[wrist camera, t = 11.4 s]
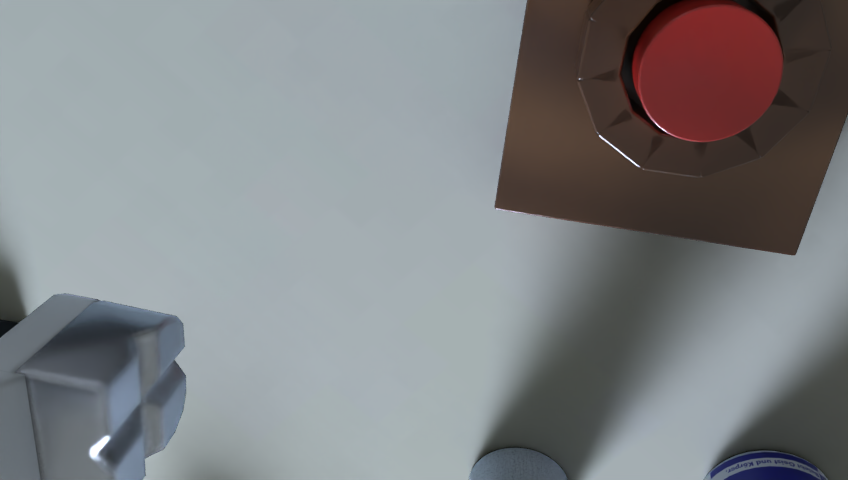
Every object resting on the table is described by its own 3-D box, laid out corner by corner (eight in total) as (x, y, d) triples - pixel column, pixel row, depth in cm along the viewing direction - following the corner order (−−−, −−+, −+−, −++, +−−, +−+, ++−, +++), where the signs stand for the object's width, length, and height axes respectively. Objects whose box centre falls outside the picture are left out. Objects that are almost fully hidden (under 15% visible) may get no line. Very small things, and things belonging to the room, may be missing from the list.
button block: (557, -189, 22) (559, -205, 18) (910, -152, 21) (987, -162, 17) (497, 186, 27) (490, 231, 23) (777, 229, 26) (813, 283, 22)
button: (647, -13, 20) (656, -5, 18) (783, 4, 20) (804, 14, 18) (618, 115, 22) (624, 132, 20) (744, 132, 21) (759, 151, 20)
